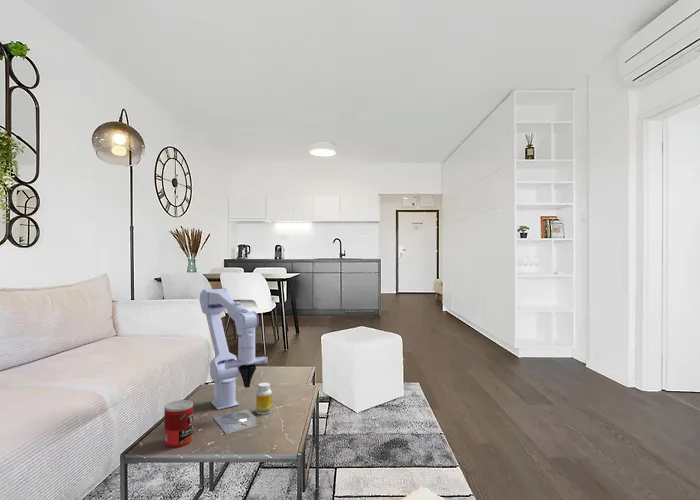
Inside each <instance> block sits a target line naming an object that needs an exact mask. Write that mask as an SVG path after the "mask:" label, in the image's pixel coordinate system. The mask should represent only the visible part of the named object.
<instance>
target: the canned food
mask: <svg viewBox="0 0 700 500" xmlns="http://www.w3.org/2000/svg"><path fill="white" fill-rule="evenodd" d="M163 412H164V424H163V425H164V426H163V427H164V434H163V435H164V438H163V439H164V445H165V446H166V447H168V448H181V447H184V446H187V445H188V444H190V443H191V442H192V441H193V438H194V402H193V400H188V399H179V400H174V401H171V402H168V403H166V404H165V405H164V411H163Z"/></svg>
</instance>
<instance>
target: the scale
mask: <svg viewBox="0 0 700 500" xmlns="http://www.w3.org/2000/svg"><path fill="white" fill-rule="evenodd" d="M212 418H213V419H214V421H215V422H216V424H217V425H218V426H219V427H220V428H221V430H222V431H223V432H224V433H225V435H228V434H231V433H236V432H239V431H244V430H248V429H252V428H256V427H259V426H263V425H264V423H263V422H262V421H260V420H259V419H258V417H256V416H255V415H254V414H253V413H252V412H251V411H250V410H249V409H243V410H240V411H235V412H231V413H225V414H222V415H217V416H213V417H212Z"/></svg>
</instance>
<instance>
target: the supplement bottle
mask: <svg viewBox="0 0 700 500" xmlns="http://www.w3.org/2000/svg"><path fill="white" fill-rule="evenodd" d="M272 393H273V392H272V389H271V385H270V383H269V382H260V383H258V384H257V391H256V392H255V413H256V414H257V415H267V414H270V413H271V412H272V399H273V397H272V395H273V394H272Z"/></svg>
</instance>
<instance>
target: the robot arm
mask: <svg viewBox="0 0 700 500" xmlns="http://www.w3.org/2000/svg"><path fill="white" fill-rule="evenodd" d="M199 303H200V304H199V305H200V309H201V312H202V313H203V314H204V315H205V316H206V321H207V326H208V330H209V333H210V339H211V343H212V347H213V351H214V355H215V356H214V357H213V358H212V360H211V361H210V362H209V369H210V370H209V376H210V379H211V380H212V382H213V400H211V401H210V403H211V404H212V405H213V406H214V407H215V409H216V410H222V409H227V408H231V407H233V408H234V407H236V406H240V403H239V402H238V401H237V400H236V398H237V396H236V391H237V390H236V389H237V388H236V381H237V380H238V377H239V376H241V380H242V382H243V387H244V388H245V389H247V388H250V387H251V386H250V385H251V382H252V380H253V379H252V378H253V376H254V374H255V371H256V370H257V365H259V364H268V362H269V360H268V359H269V357H267V356H266V355H265V356H257V357H256V328H258V326H259V323H260V320H259V318H260V317H259V315H258V313H257V312H256V311H255V310H253V311H249V310H248V309H247V308H246V307H245V306H243V304H242V302H240V301H237V302H235V301H234V300H233V298H232V297H230V291H229V290H228V289H227V288H225V287H224V288H216V289H215V288H213V289H212V288H211V289H205V288H204V289H202V290H201V291H200V294H199ZM225 310H226V313H227V315H228V316H229V317H230V318H231V319H232V320H233V321H234V325H235V329H236V334H237V335H238V336H237V337H238V338H237V339H238V340H237V341H238V342H237V344H238V345H237V346H238V347H237V348H238V349H237V353H238V354H237V355H235V354H233V353H231V352H230V351H229V346H228V342H227V338H226V334H225V330H224V326H223V321H222V319H221V318H222V317H221V313H222V312H224V311H225Z"/></svg>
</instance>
